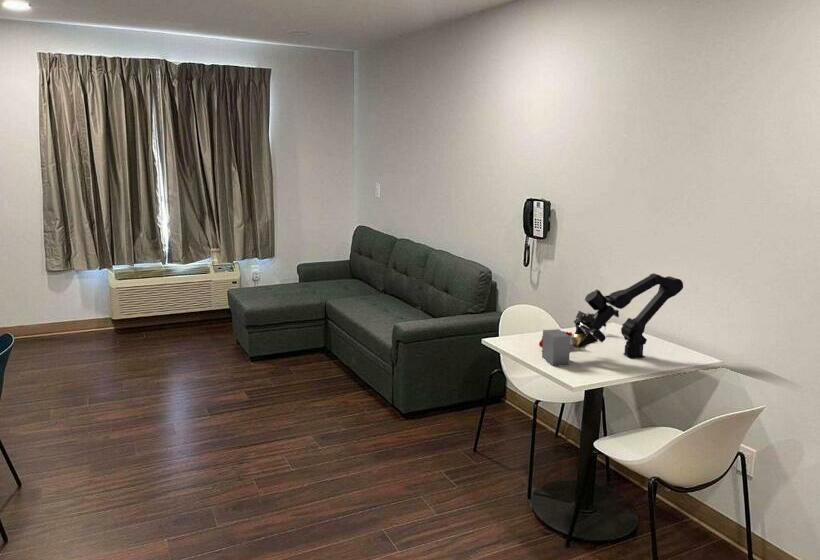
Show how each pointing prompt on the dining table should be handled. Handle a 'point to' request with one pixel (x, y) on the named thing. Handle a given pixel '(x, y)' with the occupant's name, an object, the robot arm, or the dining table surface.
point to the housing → (556, 347)
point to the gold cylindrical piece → (576, 340)
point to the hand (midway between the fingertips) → (575, 344)
